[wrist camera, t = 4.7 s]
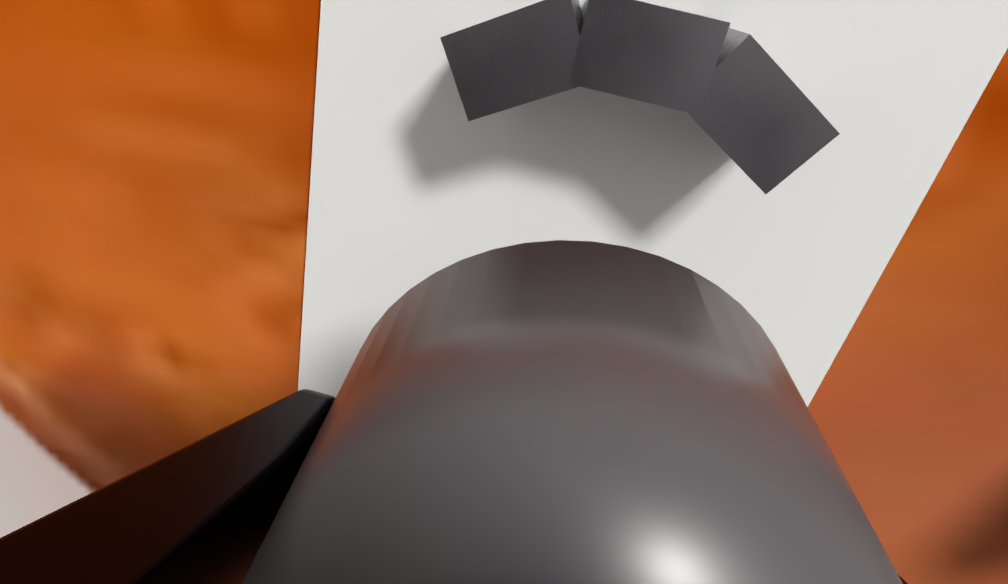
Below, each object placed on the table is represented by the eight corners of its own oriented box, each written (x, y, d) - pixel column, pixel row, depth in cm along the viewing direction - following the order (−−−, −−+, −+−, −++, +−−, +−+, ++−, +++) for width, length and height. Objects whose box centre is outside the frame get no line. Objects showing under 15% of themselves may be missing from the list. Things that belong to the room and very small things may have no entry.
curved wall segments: (659, 421, 17) (669, 500, 14) (417, 357, 17) (383, 423, 15) (818, 42, 12) (875, 56, 10) (484, -36, 13) (451, -43, 10)
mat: (738, 516, 19) (741, 526, 18) (302, 399, 19) (296, 406, 19) (1067, -83, 11) (1081, -85, 11) (344, -244, 12) (336, -252, 12)
